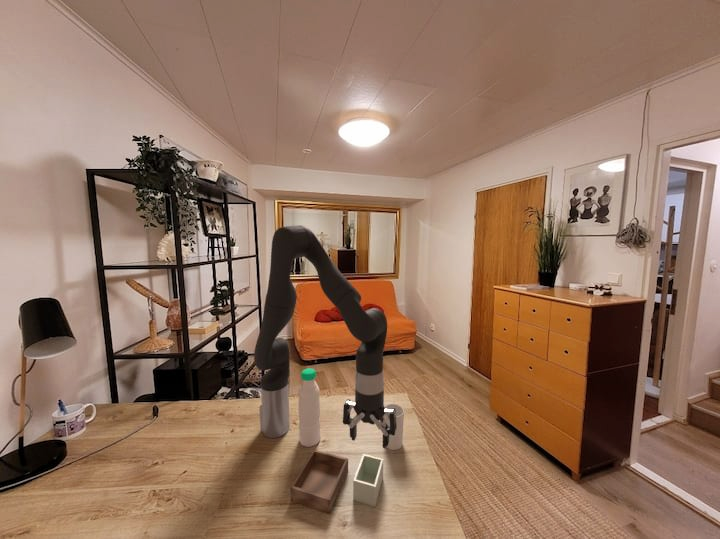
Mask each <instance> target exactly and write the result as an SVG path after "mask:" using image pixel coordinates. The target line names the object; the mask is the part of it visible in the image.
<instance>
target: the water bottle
mask: <svg viewBox="0 0 720 539" xmlns="http://www.w3.org/2000/svg"><path fill="white" fill-rule="evenodd" d="M316 376H317V372H316V370H315V369H314V368H305V369H303V370H302V371H301V373H300V378H301V381H302V382H301V383H300V386H299V388H298V392H297V395H298V420H299V424H298V429H299V430H298V431H299V435H298V436H299V438H298V439H299V443H300V444H301V446H303V447H306V448H311V447H314V446H316V445H317V444H318V443H319V442H320V440H321V419H320V417H321V416H320V415H321V403H320V387H319V385H318V384H317V382H316Z"/></svg>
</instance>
